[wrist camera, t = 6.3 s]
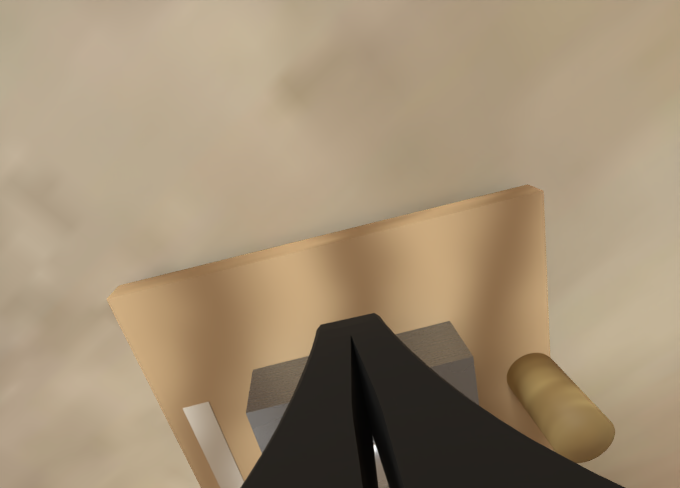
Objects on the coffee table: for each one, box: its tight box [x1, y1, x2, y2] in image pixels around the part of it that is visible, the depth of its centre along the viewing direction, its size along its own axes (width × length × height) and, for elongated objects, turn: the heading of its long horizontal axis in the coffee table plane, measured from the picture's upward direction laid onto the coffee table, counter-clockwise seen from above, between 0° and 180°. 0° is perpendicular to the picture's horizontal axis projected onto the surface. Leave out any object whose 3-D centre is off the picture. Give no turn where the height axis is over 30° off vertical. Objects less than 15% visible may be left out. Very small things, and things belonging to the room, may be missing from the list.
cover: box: [246, 321, 479, 488], centre depth 18 cm, size 9×9×3 cm
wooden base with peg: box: [107, 185, 615, 488], centre depth 18 cm, size 18×18×5 cm
